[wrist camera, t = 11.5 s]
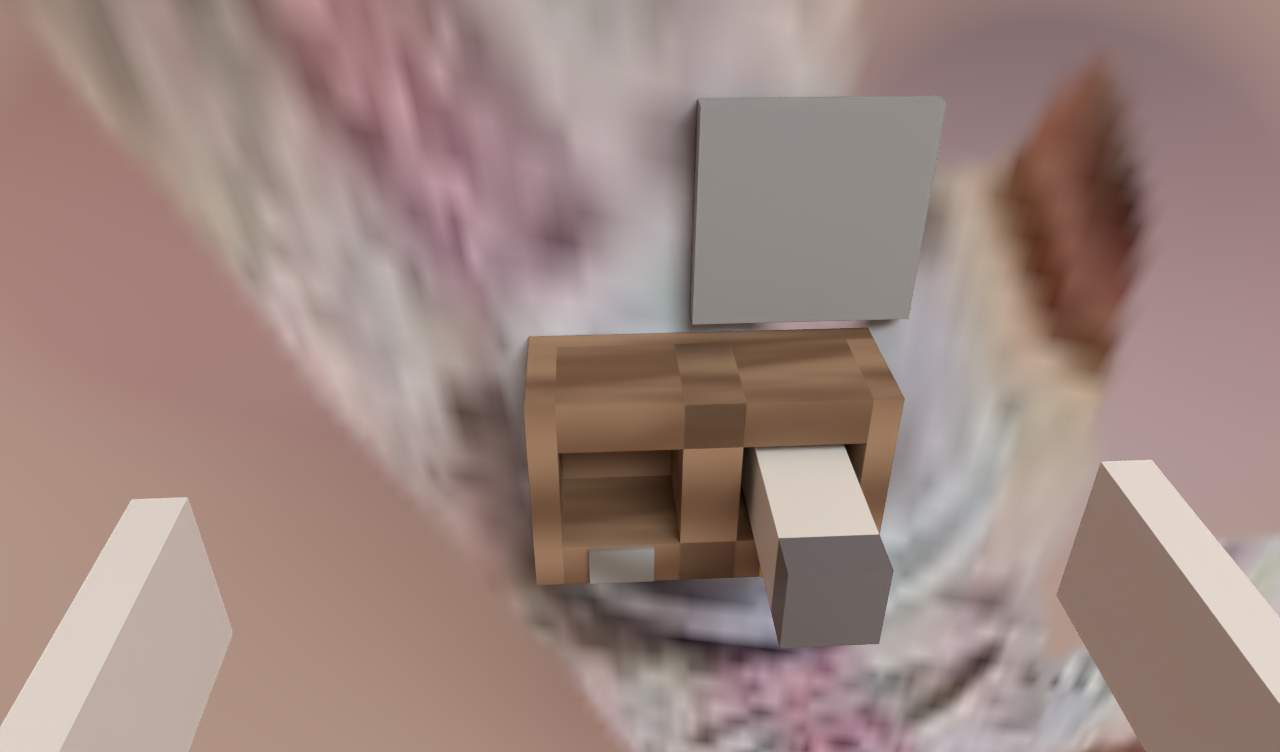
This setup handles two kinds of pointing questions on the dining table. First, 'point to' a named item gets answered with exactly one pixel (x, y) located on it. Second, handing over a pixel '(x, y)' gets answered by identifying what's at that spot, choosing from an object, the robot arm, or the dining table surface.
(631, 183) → the dining table surface
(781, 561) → the plug
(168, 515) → the robot arm
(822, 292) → the panel
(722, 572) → the socket block
